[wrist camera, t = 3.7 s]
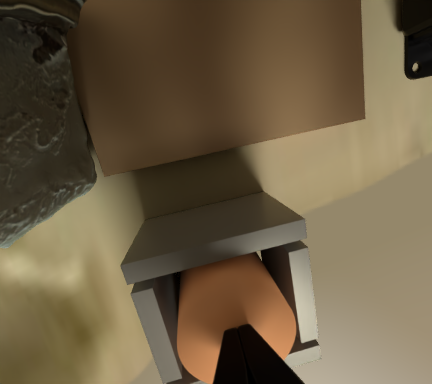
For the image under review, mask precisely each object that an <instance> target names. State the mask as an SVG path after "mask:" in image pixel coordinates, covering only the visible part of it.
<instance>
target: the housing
mask: <svg viewBox="0 0 432 384" xmlns="http://www.w3.org/2000/svg"><path fill="white" fill-rule="evenodd" d="M306 238H307V232H306V224H305V219H304V218H303V217H301V216H300V215H298V214H297V213H295V212H294V211H292V210H291V209H289V208H288V207H286V206H285V205H283V204H282V203H280V202H279V201H277V200H276V199H274V198H273V197H271V196H270V195H268V194H267V193H265V192H260V193H256V194H252V195H247V196H243V197H239V198H235V199H231V200H227V201H222V202H218V203H214V204H210V205H206V206H202V207H197V208H193V209H189V210H185V211H181V212H177V213H172V214H168V215H164V216H160V217H156V218H151V219H147V220H145V221H144V223H143V224H142V226H141V228H140V230H139V232H138V234H137V236H136V237H135V239H134V241H133V243H132V245H131V247H130V249H129V250H128V252H127V254H126V256H125V258H124V260H123V262H122V263H121V265H120V266H121V269H122V272H123V274H124V277H125V280H126V283H127V285H128V284H132V283H135V284H134V286H133V289H132V292H131V296H132V299H133V302H134V305H135V308H136V310H137V313H138V316H139V319H140V321H141V324H142V327H143V330H144V332H145V335H146V338H147V341H148V344H149V346H150V349H151V352H152V355H153V357H154V360H155V363H156V365H157V368H158V371H159V374H160V376H161V379H162V382H163V384H164V383H166V384H208V383H205V382H203V381H201V380H199V379H197V378H196V377H194V376H193V375H192V374H190V373H189V372H188V371H187V369H186V368H185V367H184V365H183V364H182V362H181V360H180V358H179V355H178V351H177V331H178V312H179V294H180V286H179V282H178V279H177V276H176V272H179V271H183V270H186V269H190V268H194V267H198V266H202V265H206V264H210V263H213V262H217V261H221V260H225V259H229V258H233V257H237V256H240V255H244V254H248V253H252V252H256V251H261V257H262V262H263V264H264V265H265V267H266V269H267V270H268V272H269V274H270V275H271V277H272V278H273V280H274V282H275V283H276V285H277V287H278V288H279V290H280V292H281V293H282V295H283V296H284V298H285V300H286V301H287V303H288V305H289V306H290V308H291V309H292V311H293V314H294V316H295V321H296V336H295V340H294V343H293V346H292V348H291V350H290V352H289V354H288V355H287V357H286V358H285V360H284V361H285V363H286V364H287V365H288V366H289V367H290V368H293V367H296V366H300V365H303V364H307V363H310V362H313V361H317V360H320V359H321V353H320V345H319V344H318V342H317V341H316V339H318V338H319V336H318V327H317V319H316V311H315V302H314V293H313V285H312V276H311V267H310V258H309V250H308V247H307V246H306V245H305V244H304V243H303V242H301V241H300V240H302V239H306Z"/></svg>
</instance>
